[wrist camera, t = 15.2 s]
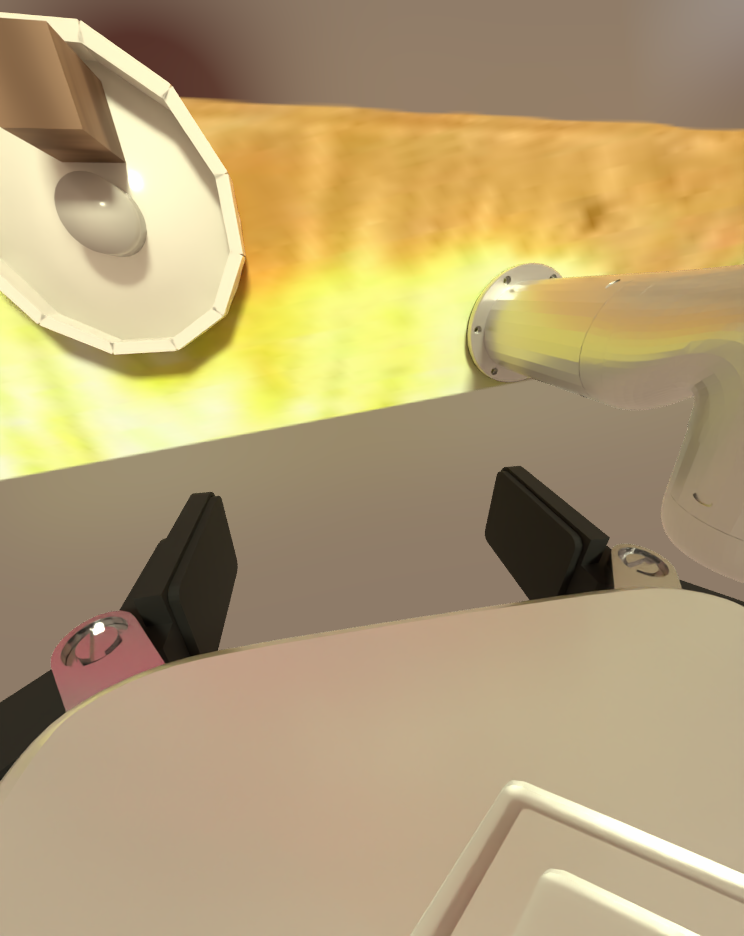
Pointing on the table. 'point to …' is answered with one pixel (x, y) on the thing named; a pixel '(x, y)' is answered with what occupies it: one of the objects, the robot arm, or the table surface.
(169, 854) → the robot arm
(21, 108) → the wooden brick
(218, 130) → the table surface
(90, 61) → the dish
